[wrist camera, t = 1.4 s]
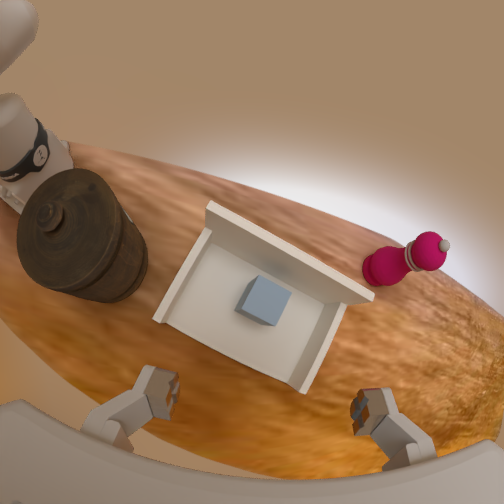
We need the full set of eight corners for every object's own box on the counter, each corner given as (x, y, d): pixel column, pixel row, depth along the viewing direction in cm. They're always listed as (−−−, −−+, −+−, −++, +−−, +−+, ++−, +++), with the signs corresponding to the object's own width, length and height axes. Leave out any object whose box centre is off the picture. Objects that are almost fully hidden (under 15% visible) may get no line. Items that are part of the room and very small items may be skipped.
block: (233, 310, 42) (241, 308, 34) (248, 283, 44) (259, 274, 35) (261, 324, 43) (275, 326, 34) (275, 297, 44) (292, 292, 36)
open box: (160, 318, 41) (140, 318, 28) (208, 234, 46) (210, 200, 32) (291, 384, 42) (325, 407, 29) (330, 301, 47) (375, 293, 33)
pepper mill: (385, 292, 49) (461, 275, 30) (356, 282, 48) (431, 259, 29) (390, 259, 51) (462, 231, 32) (363, 247, 50) (433, 211, 31)
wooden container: (146, 214, 45) (111, 139, 24) (151, 299, 42) (104, 281, 21) (73, 224, 42) (9, 166, 21) (74, 305, 39) (-7, 290, 18)
